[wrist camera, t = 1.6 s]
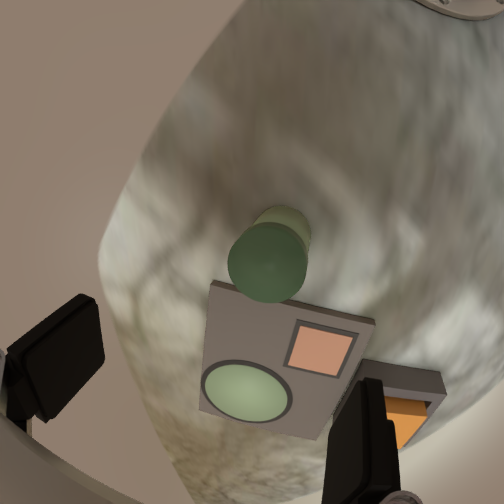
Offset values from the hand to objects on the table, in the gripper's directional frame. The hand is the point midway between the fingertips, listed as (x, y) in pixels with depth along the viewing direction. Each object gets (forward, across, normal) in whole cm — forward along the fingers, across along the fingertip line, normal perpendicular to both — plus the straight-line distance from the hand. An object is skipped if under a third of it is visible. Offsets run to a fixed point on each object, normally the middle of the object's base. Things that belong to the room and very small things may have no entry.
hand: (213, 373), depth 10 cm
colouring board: (+14, -2, +12) cm, 19 cm away
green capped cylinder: (+14, 0, -1) cm, 14 cm away
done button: (+12, -13, +12) cm, 22 cm away
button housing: (+14, -13, +12) cm, 23 cm away
